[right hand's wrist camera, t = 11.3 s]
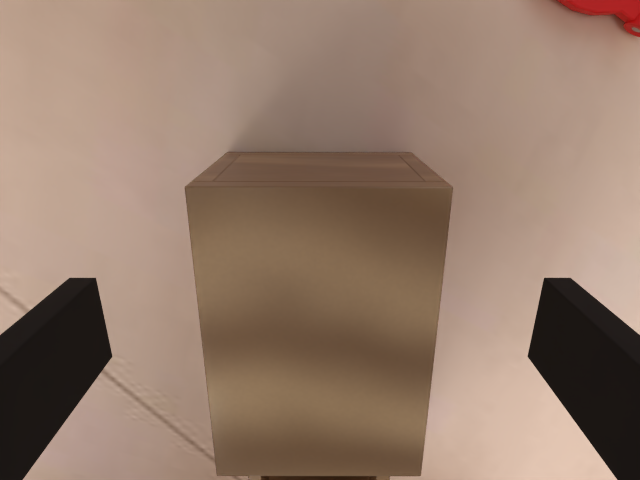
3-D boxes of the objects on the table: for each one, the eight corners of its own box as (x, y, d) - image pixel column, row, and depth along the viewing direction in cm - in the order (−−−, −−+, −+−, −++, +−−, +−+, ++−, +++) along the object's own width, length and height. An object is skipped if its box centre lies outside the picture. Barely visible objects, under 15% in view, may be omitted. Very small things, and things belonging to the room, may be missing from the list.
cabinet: (394, 373, 33) (421, 476, 24) (243, 373, 33) (216, 476, 25) (411, 152, 27) (453, 186, 19) (226, 152, 27) (183, 186, 19)
